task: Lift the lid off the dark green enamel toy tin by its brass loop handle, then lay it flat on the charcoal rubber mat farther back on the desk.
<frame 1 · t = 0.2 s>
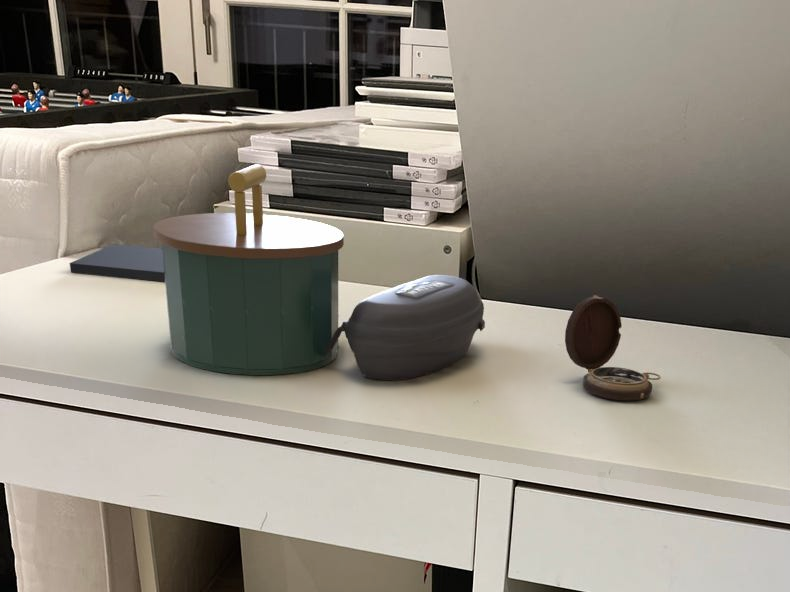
glasses case: (412, 362, 90), on the table
lid: (250, 239, 83), point 9 cm above the table, touching toy tin
compass: (617, 389, 88), on the table
toy tin: (255, 350, 88), on the table
mat: (144, 267, 113), on the table
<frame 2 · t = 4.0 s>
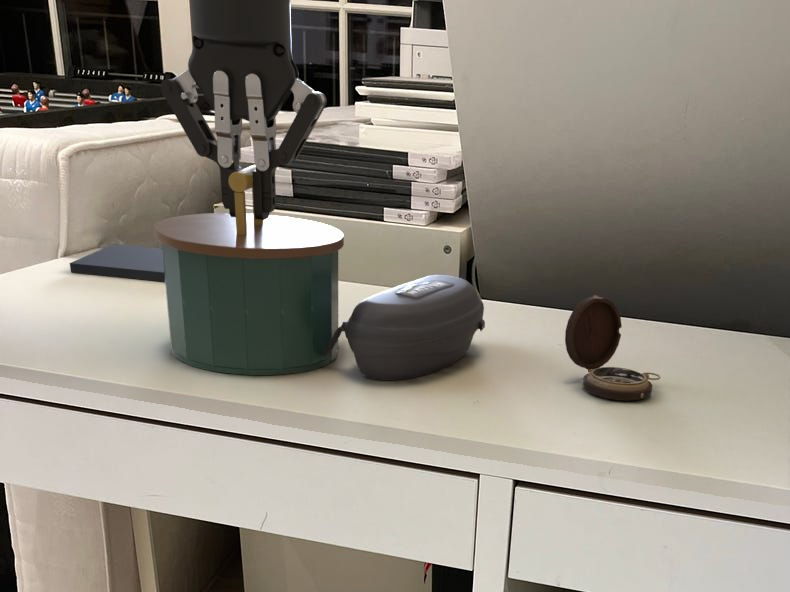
hand: (250, 216, 82), 11 cm above the table, tool pointing down, fingers closed on lid
lid: (250, 239, 83), point 10 cm above the table, touching gripper, toy tin
everything else where it was.
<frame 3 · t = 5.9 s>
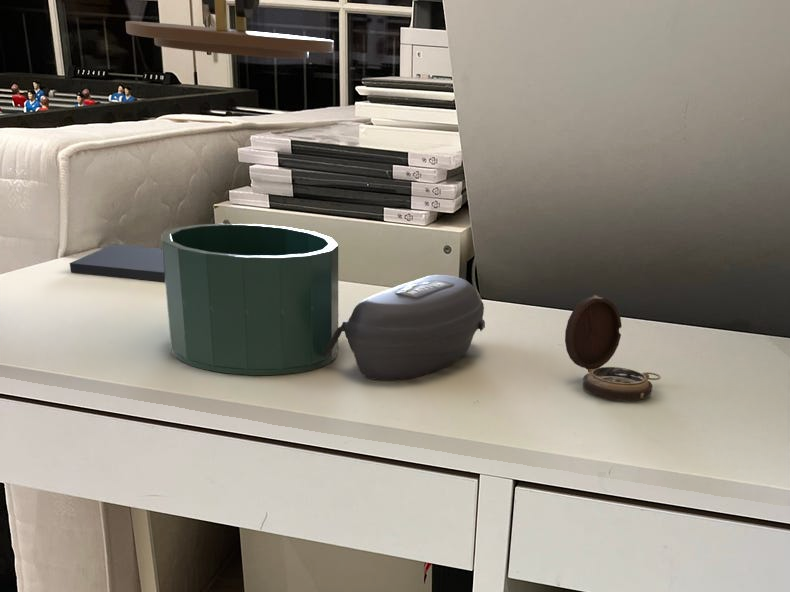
hand: (231, 15, 76), 26 cm above the table, tool pointing down, fingers closed on lid
lid: (232, 42, 77), point 24 cm above the table, touching gripper
everything else where it was.
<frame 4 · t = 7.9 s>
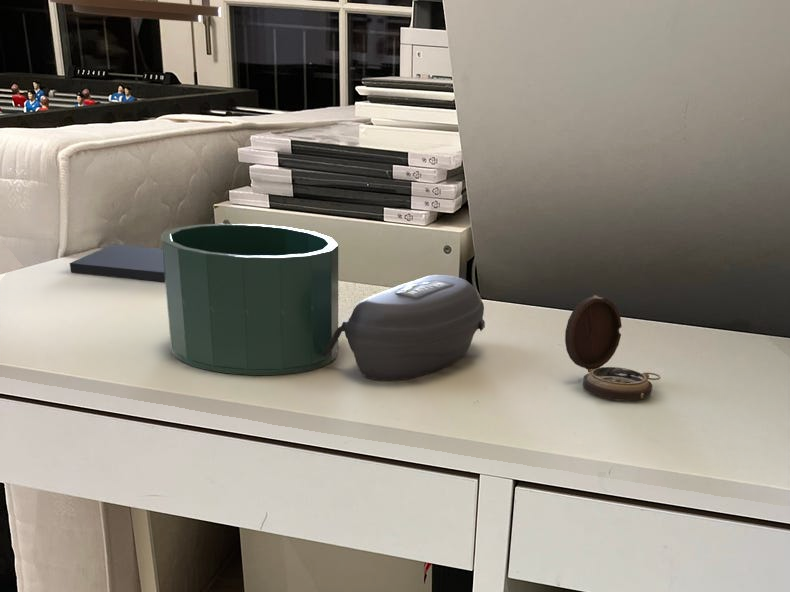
lid: (137, 9, 95), point 25 cm above the table, touching gripper
everything else where it was.
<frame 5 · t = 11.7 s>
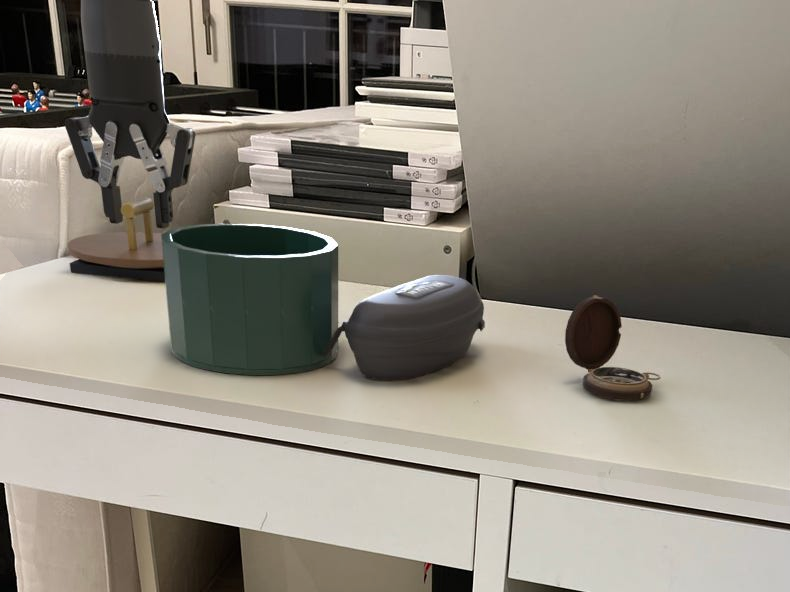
hand: (140, 224, 110), 5 cm above the table, tool pointing down, fingers open, 4 cm apart
lid: (142, 252, 112), point 2 cm above the table, touching mat
everything else where it was.
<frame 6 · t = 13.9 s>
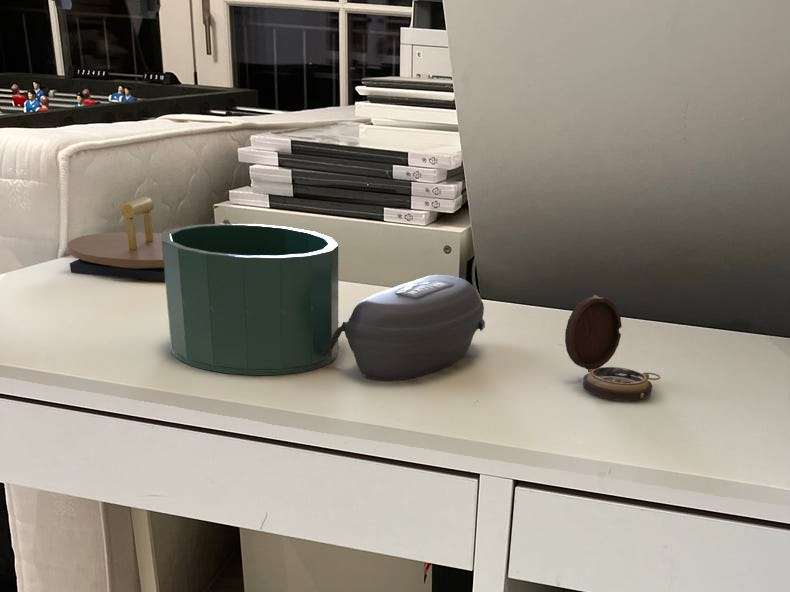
hand: (106, 13, 97), 25 cm above the table, tool pointing down, fingers open, 8 cm apart
nothing on the table moved.
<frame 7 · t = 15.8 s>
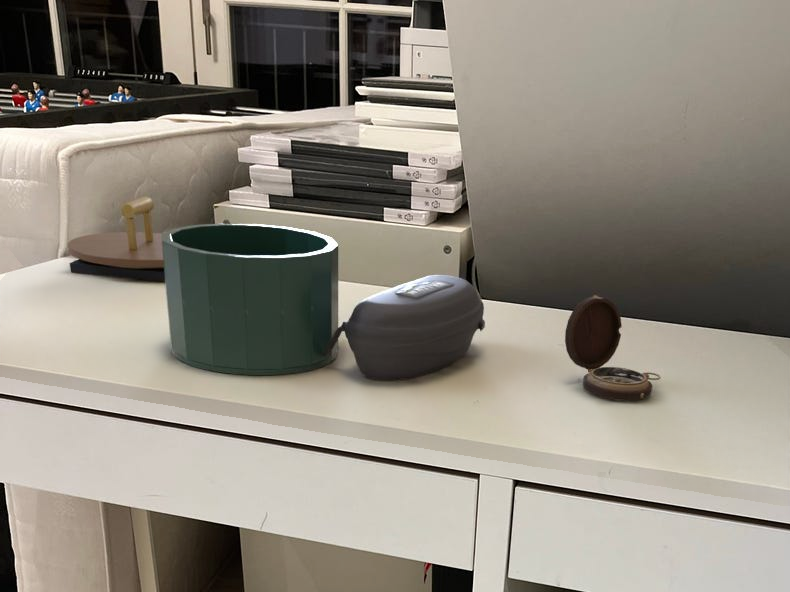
nothing on the table moved.
at the end: lid inside the target area on the mat (0.1 cm from its centre), point 1.6 cm above the mat's base; lid tilted 0°; the gripper is holding nothing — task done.
